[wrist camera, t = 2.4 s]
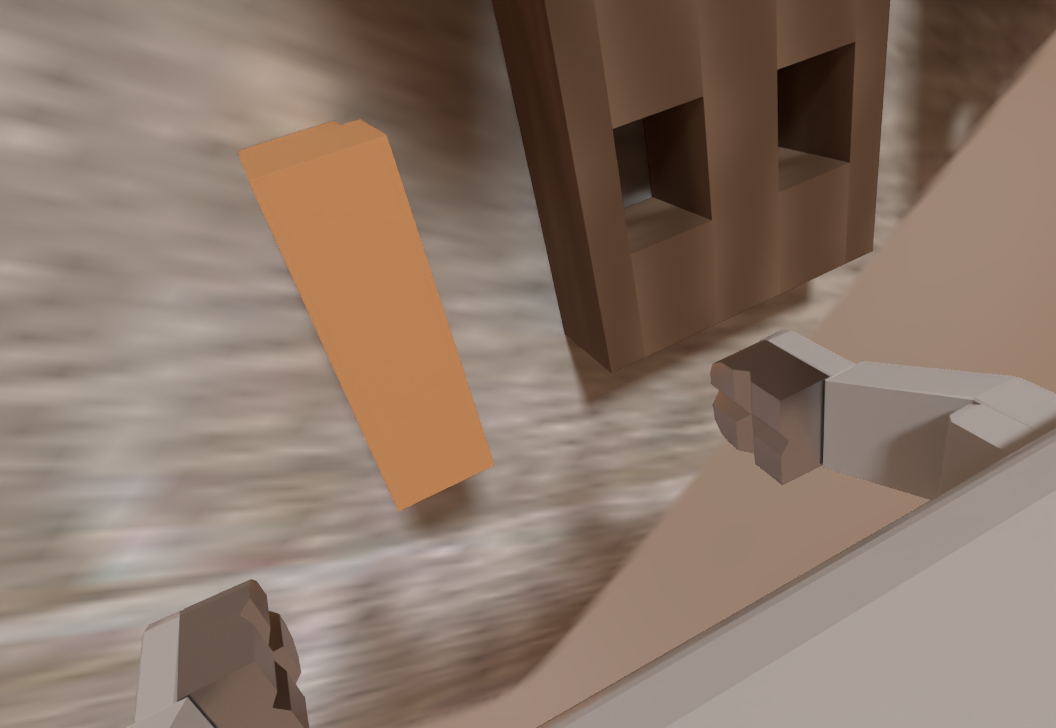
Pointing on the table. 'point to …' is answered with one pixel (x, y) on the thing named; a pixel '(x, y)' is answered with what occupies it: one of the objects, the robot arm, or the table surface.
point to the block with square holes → (695, 154)
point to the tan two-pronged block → (372, 301)
